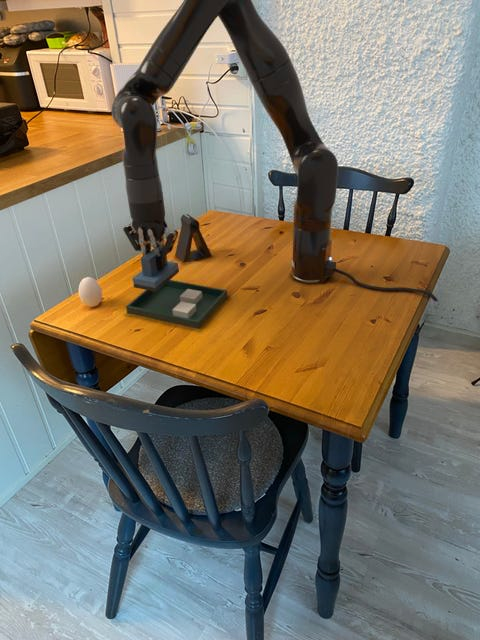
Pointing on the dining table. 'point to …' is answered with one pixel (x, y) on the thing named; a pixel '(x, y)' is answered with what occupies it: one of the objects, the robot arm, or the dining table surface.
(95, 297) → the egg
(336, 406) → the dining table surface
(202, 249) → the dark grey a-frame stand
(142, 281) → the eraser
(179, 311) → the cream slab tile
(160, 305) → the tray
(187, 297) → the beige square tile
